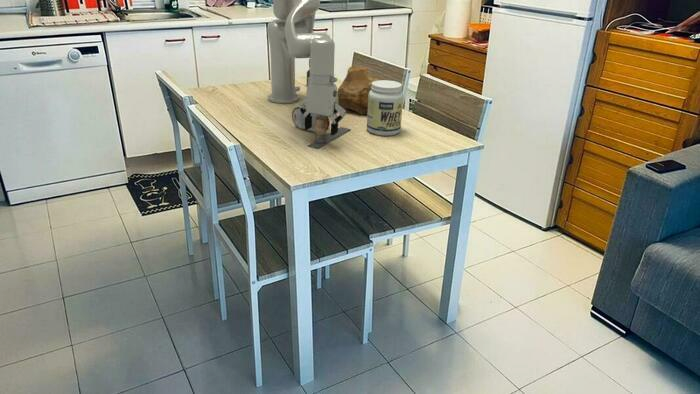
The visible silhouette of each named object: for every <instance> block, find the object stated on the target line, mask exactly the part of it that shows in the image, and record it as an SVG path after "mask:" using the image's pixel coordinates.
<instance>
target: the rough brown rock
mask: <svg viewBox="0 0 700 394" xmlns="http://www.w3.org/2000/svg"><path fill="white" fill-rule="evenodd" d="M379 80H381V78H380V77H375V78H373V76H371V75H370V74H369V71H368V69H367V68H366V67H363V66H359V67H356V66H350V67H348V69H347V72H346V76H345V78H344V79H343V81H342V83H341V84H340V85H339V87H338V88H337V91H338V104H339V106H341V107H342V108H343V109H344V110H346V109H349V110H352V111H354V112H356V113H358V114H360V115H363V116H367V113H368V95H369V92H370V91H371V90H372V89H371V86H372V82H374V81H379Z"/></svg>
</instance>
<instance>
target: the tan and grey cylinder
mask: <svg viewBox="0 0 700 394" xmlns="http://www.w3.org/2000/svg"><path fill="white" fill-rule="evenodd" d="M326 135H327V131H326V118H325V117H316V118H315V133H314V142H316V143H318V144H324V143H326Z"/></svg>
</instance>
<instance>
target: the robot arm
mask: <svg viewBox="0 0 700 394" xmlns="http://www.w3.org/2000/svg"><path fill="white" fill-rule="evenodd" d="M320 6H321V1H320V0H273V3H272V11H273V15H274V16H275V18H277V19H274V20H271V21H270V22H269V23H268V24H267V37H268V42H269V50H270V51H269V53H270V76H271V79H270V80H271V82H270V84H271V86H270V87H271V94H269V95H268V97H267V100H268V101H269V102H271V103H275V104H293V103H297V105H298V106H299V108H300V111H301V113H302V114H303V117H304V118H305V129H306V130H307V129H309V128H311V127H312V116H310V115H311V114H316V115H321V116H326V117H328V118H329V120H330V121H331V122H332V123H331V122H330V133H331V135H335V134H336V133H337V132H338V128H339V122H340V121H342V120H343V118H344V117H345V115H346V113H347V111H346V109H343V108H342V107H341V106H339V104H338V87H337V84H336V83H337V82H338V78H337V77H335V52H336V51H335V48H336V45H335V41H334V40H333V38H331V36H330V35H329V34H328V33H324V32H321V33H320V32H319V33H318V32H317V33H316V32H315V33H314V26H315V19H316V12H317V11H318V10H319V9H320ZM296 59H310V68H309V69H310V82H308V86H307V85H306V90H305V91H306V92H305V93H306V94H305V99H302V100H300V97H299V95H298V94H297V92H300V90H301V87H300V86H299V85H297V86H296V85H295V84H296V67H295V66H296V63H295V62H296ZM299 100H300V101H299ZM304 105H305V106H306V108H305V107H304ZM298 106H297V107H298ZM338 113H339V114H338ZM306 130H305V131H306Z"/></svg>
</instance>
